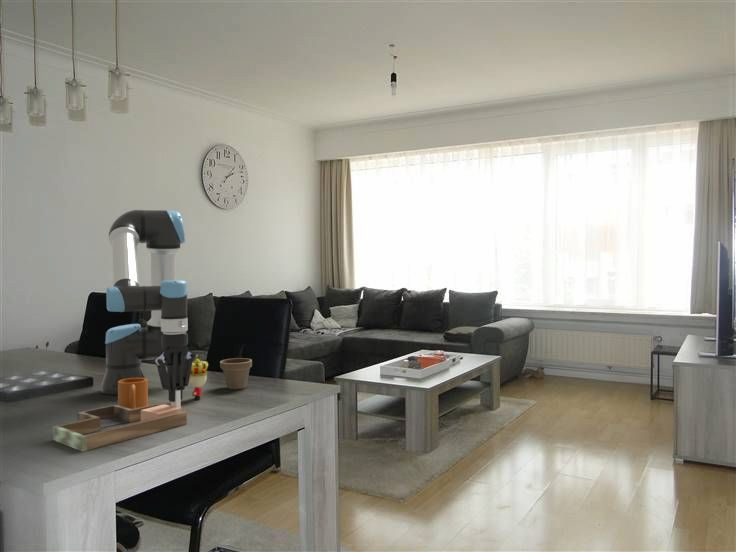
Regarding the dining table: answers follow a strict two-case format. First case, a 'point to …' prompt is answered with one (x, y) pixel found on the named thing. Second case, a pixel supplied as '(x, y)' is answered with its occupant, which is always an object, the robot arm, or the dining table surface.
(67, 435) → the wooden tray frame
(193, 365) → the toy
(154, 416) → the block
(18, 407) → the dining table surface
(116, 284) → the robot arm
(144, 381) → the mug
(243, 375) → the flower pot
